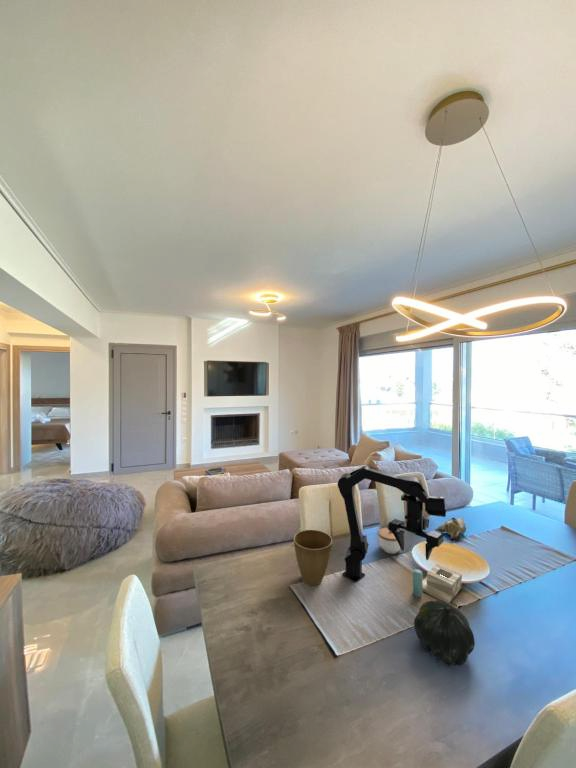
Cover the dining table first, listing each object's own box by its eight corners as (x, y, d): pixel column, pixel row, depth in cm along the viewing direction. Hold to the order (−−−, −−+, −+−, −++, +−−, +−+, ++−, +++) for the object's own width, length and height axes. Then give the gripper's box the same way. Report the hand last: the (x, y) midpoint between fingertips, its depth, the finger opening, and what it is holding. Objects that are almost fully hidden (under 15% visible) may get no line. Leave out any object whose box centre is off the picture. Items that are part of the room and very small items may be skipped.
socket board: (448, 603, 107) (448, 589, 107) (417, 588, 115) (417, 574, 115) (461, 587, 116) (461, 574, 116) (431, 574, 124) (431, 561, 124)
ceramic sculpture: (472, 518, 155) (452, 526, 148) (473, 535, 155) (453, 544, 149) (452, 510, 165) (433, 517, 158) (453, 527, 165) (434, 534, 158)
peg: (419, 598, 110) (419, 575, 110) (411, 593, 112) (411, 571, 112) (423, 594, 112) (423, 571, 112) (415, 589, 114) (415, 568, 114)
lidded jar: (406, 556, 136) (406, 535, 136) (381, 556, 137) (381, 535, 137) (398, 544, 147) (398, 524, 147) (375, 543, 147) (375, 524, 147)
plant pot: (286, 585, 117) (286, 542, 117) (303, 564, 130) (303, 526, 130) (323, 597, 110) (323, 552, 110) (337, 574, 123) (337, 534, 123)
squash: (426, 601, 101) (418, 582, 93) (479, 625, 91) (476, 607, 83) (414, 651, 93) (404, 635, 85) (472, 684, 83) (466, 669, 75)
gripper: (449, 513, 114) (449, 556, 114) (400, 500, 128) (400, 538, 128) (437, 523, 106) (437, 568, 106) (387, 508, 120) (387, 548, 120)
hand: (414, 554), depth 115 cm, fingers open, 9 cm apart
